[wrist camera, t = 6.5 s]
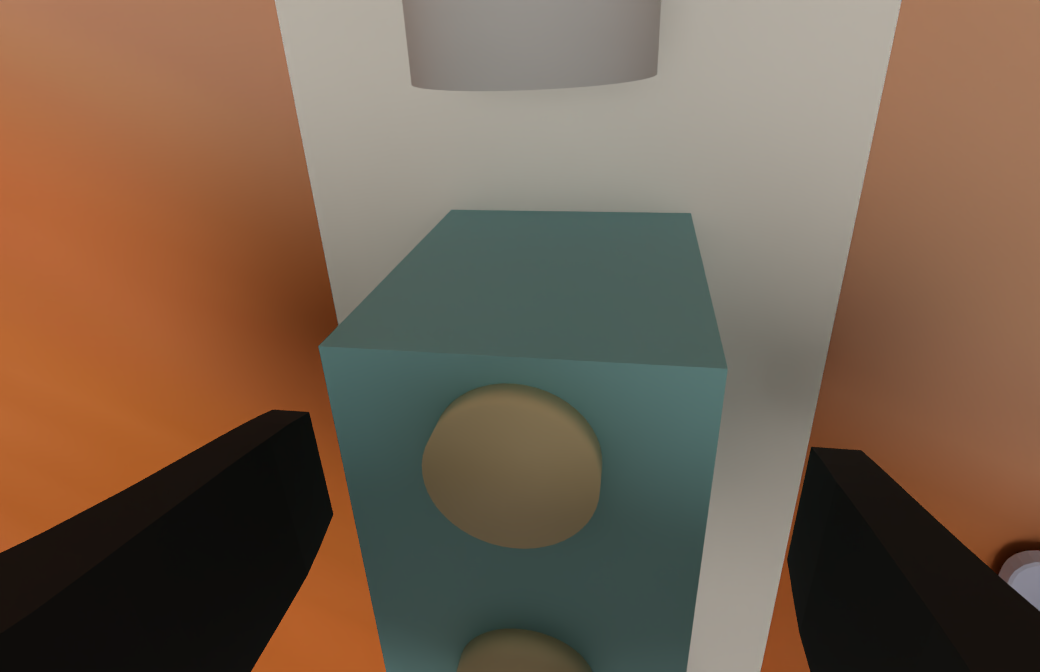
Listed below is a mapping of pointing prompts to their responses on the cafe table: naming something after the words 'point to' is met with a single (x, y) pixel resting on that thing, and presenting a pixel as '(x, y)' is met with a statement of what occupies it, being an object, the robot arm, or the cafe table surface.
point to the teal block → (533, 441)
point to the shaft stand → (623, 189)
